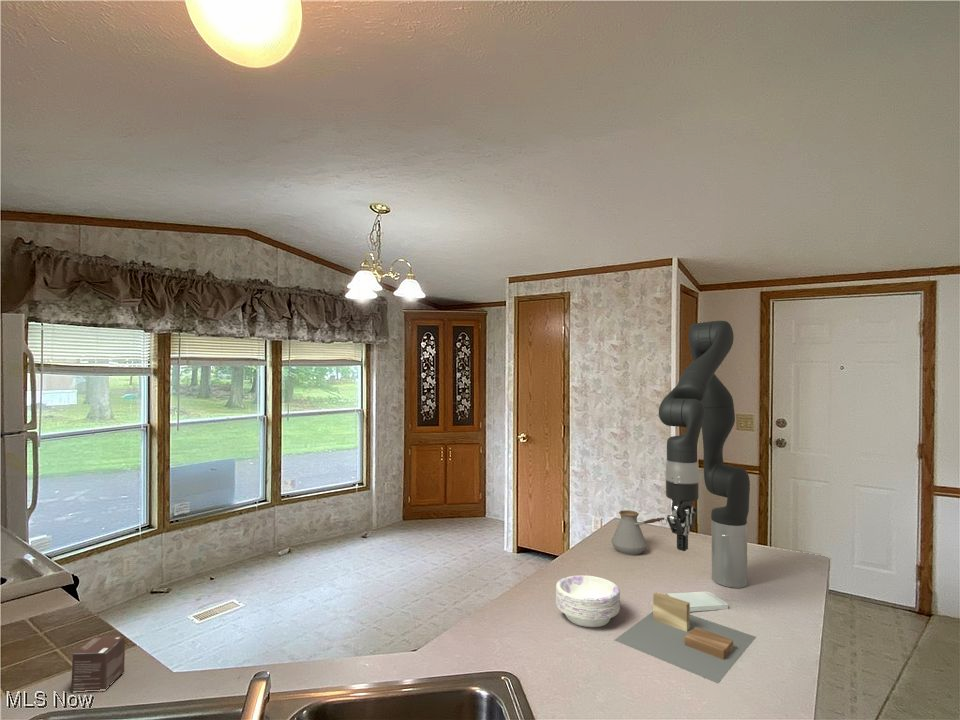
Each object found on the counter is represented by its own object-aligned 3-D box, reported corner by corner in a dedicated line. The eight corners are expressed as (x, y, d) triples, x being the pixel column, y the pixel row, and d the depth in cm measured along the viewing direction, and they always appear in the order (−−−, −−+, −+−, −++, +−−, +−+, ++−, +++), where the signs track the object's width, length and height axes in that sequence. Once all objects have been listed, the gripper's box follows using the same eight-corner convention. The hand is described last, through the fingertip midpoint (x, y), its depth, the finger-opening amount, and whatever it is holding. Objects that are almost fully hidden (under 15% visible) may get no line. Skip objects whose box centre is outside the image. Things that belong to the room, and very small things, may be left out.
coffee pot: (604, 548, 171) (604, 504, 171) (629, 543, 176) (629, 500, 176) (652, 570, 152) (651, 520, 152) (678, 563, 157) (678, 515, 157)
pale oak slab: (656, 617, 121) (656, 592, 121) (689, 628, 116) (689, 602, 116) (653, 619, 120) (653, 594, 120) (686, 631, 114) (686, 605, 114)
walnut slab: (695, 626, 113) (684, 636, 109) (733, 640, 107) (723, 651, 103) (695, 635, 113) (684, 645, 109) (733, 648, 107) (723, 659, 103)
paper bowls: (572, 599, 132) (571, 568, 132) (628, 615, 123) (628, 582, 123) (544, 622, 119) (544, 588, 120) (605, 642, 110) (605, 605, 111)
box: (92, 674, 97) (94, 636, 98) (125, 673, 98) (126, 635, 98) (69, 694, 91) (71, 653, 92) (104, 692, 92) (105, 652, 92)
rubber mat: (661, 606, 128) (661, 604, 128) (756, 638, 112) (756, 636, 112) (614, 641, 110) (614, 639, 111) (717, 685, 95) (717, 683, 95)
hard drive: (684, 606, 123) (728, 603, 126) (665, 593, 131) (707, 590, 134) (684, 613, 123) (728, 610, 126) (665, 599, 131) (707, 596, 134)
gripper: (678, 473, 131) (678, 540, 130) (655, 480, 121) (655, 552, 121) (707, 477, 126) (708, 547, 125) (686, 485, 116) (686, 560, 116)
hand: (682, 549), depth 123 cm, fingers closed
